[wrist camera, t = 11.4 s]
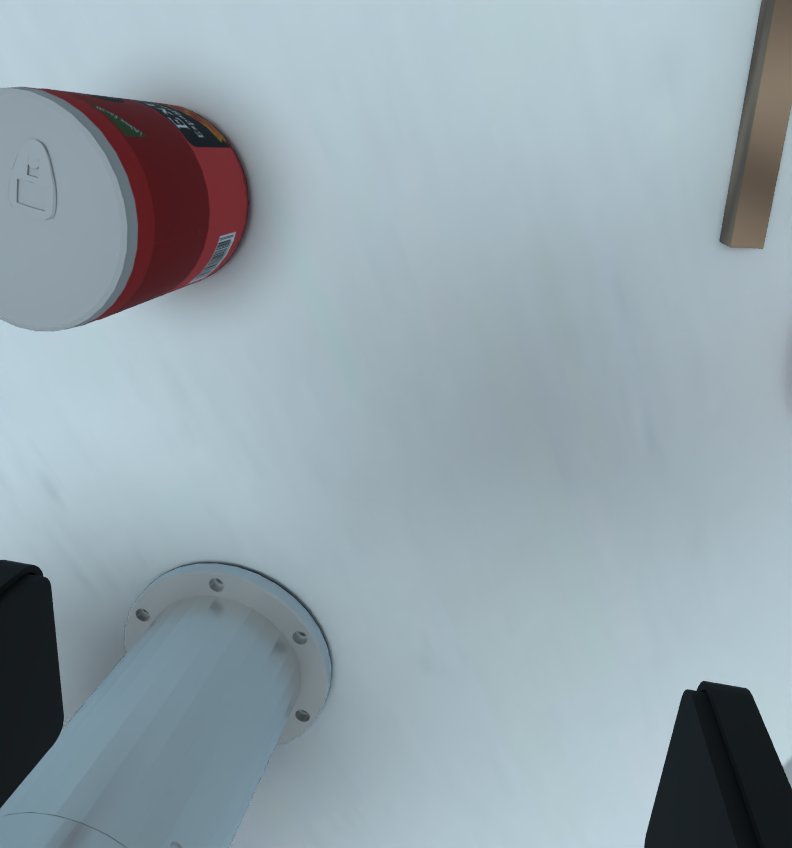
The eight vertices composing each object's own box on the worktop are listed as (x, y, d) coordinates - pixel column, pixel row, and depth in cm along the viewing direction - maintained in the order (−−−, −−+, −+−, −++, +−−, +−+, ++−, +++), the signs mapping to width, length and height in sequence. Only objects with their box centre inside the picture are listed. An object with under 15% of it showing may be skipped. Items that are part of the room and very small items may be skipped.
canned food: (247, 103, 32) (109, 81, 22) (260, 284, 35) (143, 339, 25) (91, 105, 33) (-107, 87, 23) (115, 279, 36) (-52, 329, 26)
